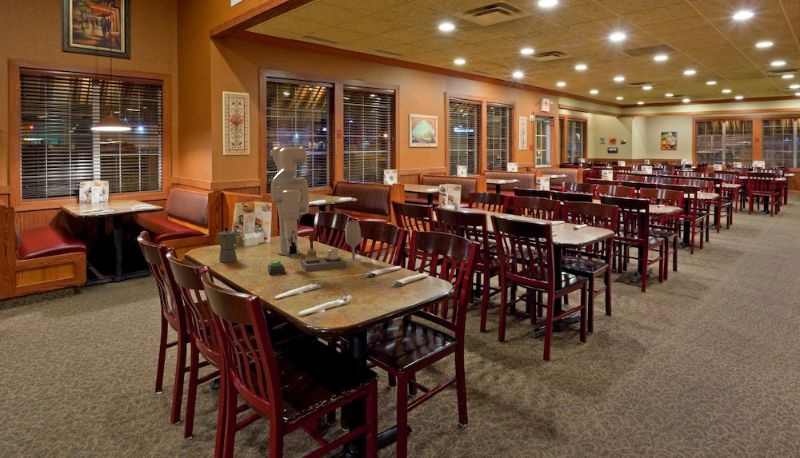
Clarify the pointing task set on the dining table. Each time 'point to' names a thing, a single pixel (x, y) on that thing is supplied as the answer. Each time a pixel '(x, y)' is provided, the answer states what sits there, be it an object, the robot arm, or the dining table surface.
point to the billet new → (289, 249)
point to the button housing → (276, 270)
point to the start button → (275, 264)
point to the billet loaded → (332, 255)
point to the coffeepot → (227, 246)
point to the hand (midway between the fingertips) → (292, 252)
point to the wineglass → (353, 238)
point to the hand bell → (311, 248)
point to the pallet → (322, 264)
